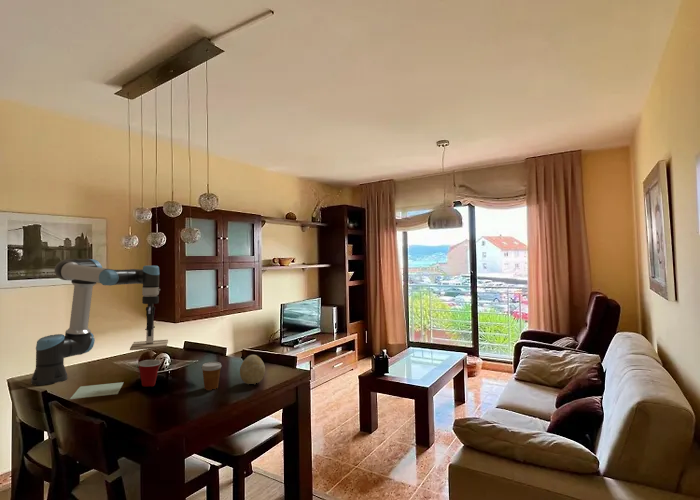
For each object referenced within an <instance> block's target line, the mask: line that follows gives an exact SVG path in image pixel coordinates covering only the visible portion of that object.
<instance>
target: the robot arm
mask: <svg viewBox="0 0 700 500" xmlns="http://www.w3.org/2000/svg"><path fill="white" fill-rule="evenodd" d="M54 275H55V276H56V277H57V278H58V279H60V280H62V281H71V284H72V285H73V293H72V301H71V302H72V304H71V311H70V320H69V328H68V329H66V330H65V335H64V334H63V333H58V334H57V333H56V334H50V335H49V334H48V335H45V336H42V337H41V338H39V339H37V341H36V345H35V370H34V372H33V374H32V376H31V380H30V384H31V383H32V384H36V385H35V386H46V385H45V384H48V385H53V384H56V383H59V382H64V381H66V380H68V372H67V370H66V367H65V364H64V363H65V362H64V359H66V358H69V357H74V356H80V355H83V354H86V353H88V352H90V351H91V350H92V349H93V348H94V345H95V343H96V341H95V339H96V338H95V336H94V334H93V333H92V331H91V329H90V328H89V322H90V321H89V320H90V311H91V304H92V298H93V288H94V286H95V285H97V283H98V284H101V285H103V286H109V287H110V286H119V285H134V284H136V285H137V284H138V285H139V284H140V285H142V291H141V292H142V298H141V301H142V302H141V303H142V304H143V305H147V306H146V308H145V311H146V313H145V316H146V328H145V331H146V333H147V343H152V342H153V341H154V338H153V325H154V328H155V327H156V326H155V322H154V321H155V320H154V319H155V318H154V317H155V310H156V306H154V304H156V305H157V304H159V302H160V296H159V294H160V291H161V288H160V267H159V266H158V265H143V266H142V268H141V269H140V268H138V269H137V268H130V269H126V268H125V269H112V268H104V267H103V266H102V264H101V263H100V262H99V261H98V260H97V259H92V258H67V259H63V260H60V261H59V262H58V263H56V264H55V267H54ZM32 384H31V385H32Z"/></svg>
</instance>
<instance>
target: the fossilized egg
mask: <svg viewBox="0 0 700 500" xmlns="http://www.w3.org/2000/svg"><path fill="white" fill-rule="evenodd" d="M265 374H266V366H265V363H264V361H263V360H262V358H261V357H260V356H259V355H257V354H249V355H247V357H245V358H244V359H243V361H242V363H241V365H240V368H239V375H240V378H241V380H242V382H243V383H245V384H247V385H249V384H254V385H257V384H259V383H260V382H262V380H263V379H264V377H265ZM256 383H257V384H256Z"/></svg>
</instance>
